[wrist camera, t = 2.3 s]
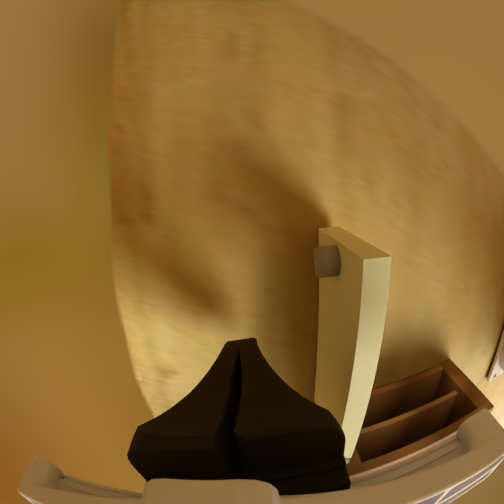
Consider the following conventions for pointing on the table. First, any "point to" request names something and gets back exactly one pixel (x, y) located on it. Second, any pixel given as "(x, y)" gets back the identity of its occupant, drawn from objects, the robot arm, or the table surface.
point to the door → (349, 325)
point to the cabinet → (414, 417)
